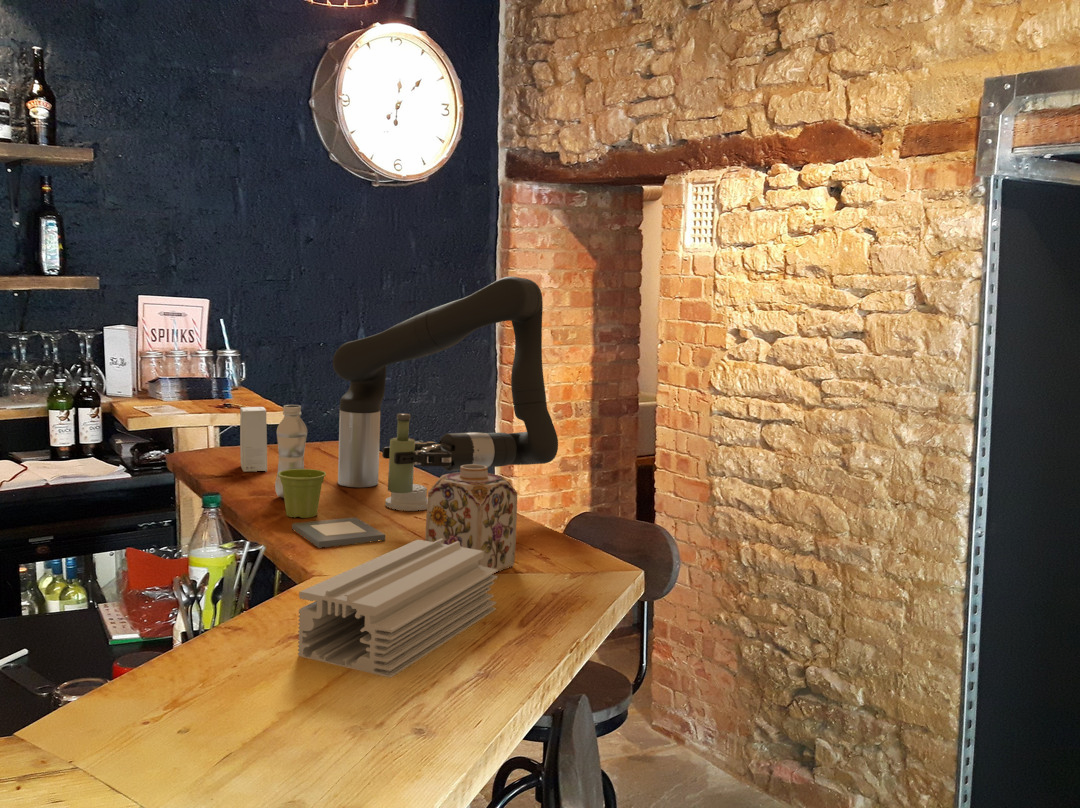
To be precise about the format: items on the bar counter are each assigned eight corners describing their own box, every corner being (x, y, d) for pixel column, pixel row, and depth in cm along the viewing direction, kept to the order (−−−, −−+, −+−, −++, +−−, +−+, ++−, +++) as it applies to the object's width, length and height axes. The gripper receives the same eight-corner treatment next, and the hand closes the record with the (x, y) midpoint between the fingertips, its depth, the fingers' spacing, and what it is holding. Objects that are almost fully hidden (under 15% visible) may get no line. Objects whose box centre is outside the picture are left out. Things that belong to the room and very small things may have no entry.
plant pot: (268, 513, 211) (268, 471, 210) (307, 507, 218) (308, 466, 217) (294, 523, 205) (295, 479, 204) (334, 516, 212) (335, 474, 210)
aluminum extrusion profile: (495, 611, 161) (498, 548, 159) (390, 680, 133) (393, 604, 131) (415, 595, 166) (417, 534, 165) (297, 658, 138) (299, 585, 137)
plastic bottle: (268, 498, 224) (269, 406, 221) (287, 492, 230) (289, 402, 227) (293, 502, 221) (295, 409, 218) (312, 496, 227) (314, 405, 225)
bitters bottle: (383, 488, 205) (387, 412, 203) (406, 486, 207) (409, 412, 205) (394, 494, 201) (397, 417, 199) (416, 492, 203) (420, 416, 201)
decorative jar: (477, 582, 174) (482, 476, 171) (422, 568, 180) (425, 465, 177) (516, 566, 184) (521, 465, 181) (463, 554, 190) (467, 456, 187)
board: (292, 529, 200) (292, 522, 200) (355, 523, 207) (355, 516, 207) (318, 548, 188) (318, 541, 188) (385, 540, 196) (385, 534, 195)
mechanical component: (426, 513, 219) (436, 503, 228) (427, 493, 218) (437, 483, 228) (380, 510, 220) (391, 500, 229) (380, 489, 219) (392, 480, 229)
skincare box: (267, 472, 250) (268, 410, 248) (241, 472, 248) (242, 410, 246) (264, 465, 258) (265, 405, 256) (239, 465, 256) (239, 405, 254)
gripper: (450, 426, 216) (374, 429, 207) (485, 439, 204) (406, 443, 195) (449, 462, 217) (373, 466, 208) (483, 477, 205) (404, 482, 196)
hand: (389, 455), depth 202 cm, fingers closed on bitters bottle, 4 cm apart
